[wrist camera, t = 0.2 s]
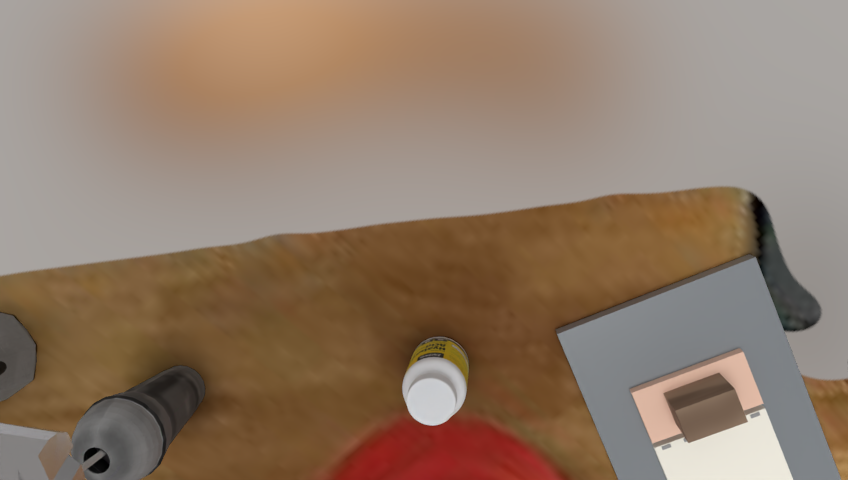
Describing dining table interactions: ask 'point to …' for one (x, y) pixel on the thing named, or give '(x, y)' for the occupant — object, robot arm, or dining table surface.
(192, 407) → the beverage cup
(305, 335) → the dining table surface
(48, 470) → the robot arm
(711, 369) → the brown and pink block
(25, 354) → the coffeepot
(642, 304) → the board
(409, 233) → the dining table surface
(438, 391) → the supplement bottle
